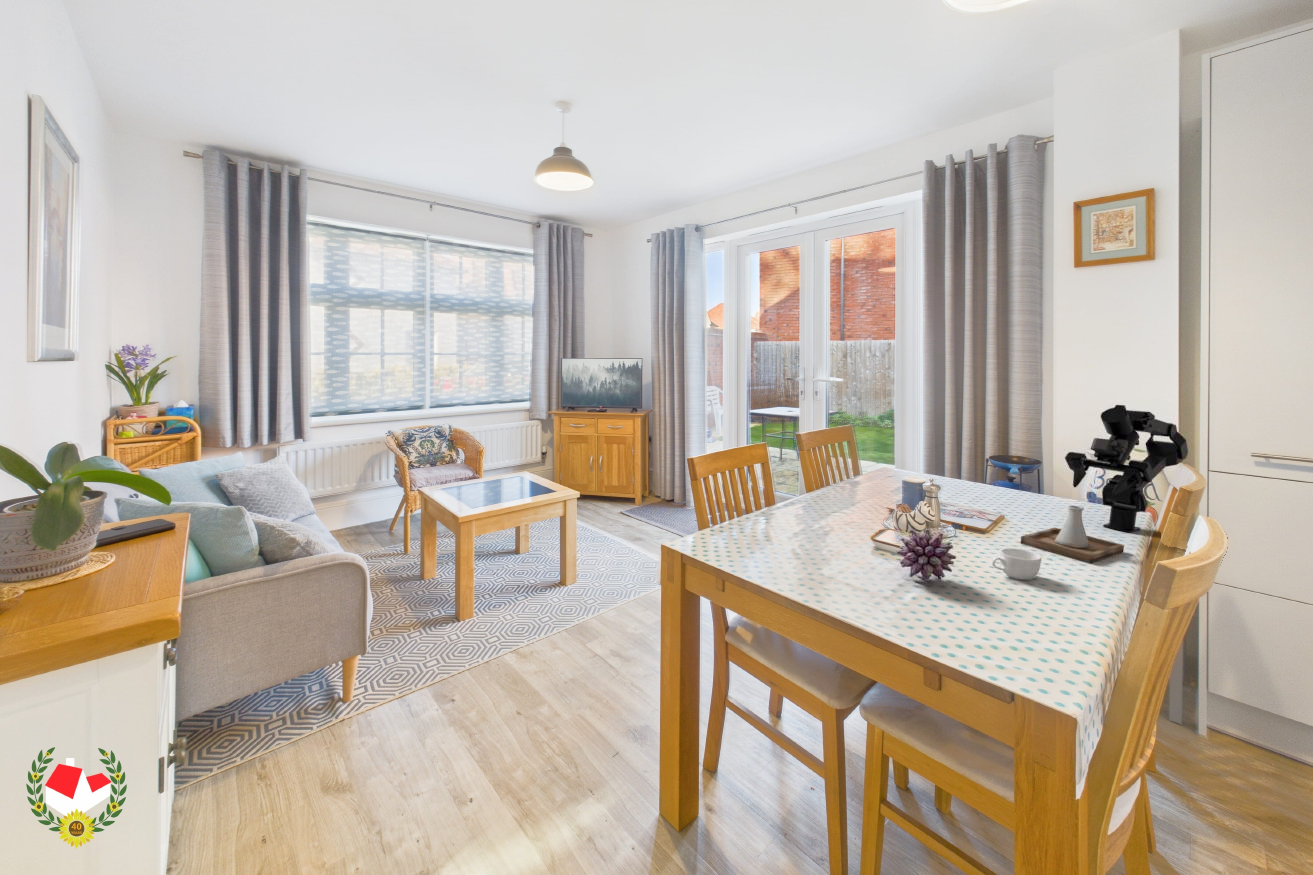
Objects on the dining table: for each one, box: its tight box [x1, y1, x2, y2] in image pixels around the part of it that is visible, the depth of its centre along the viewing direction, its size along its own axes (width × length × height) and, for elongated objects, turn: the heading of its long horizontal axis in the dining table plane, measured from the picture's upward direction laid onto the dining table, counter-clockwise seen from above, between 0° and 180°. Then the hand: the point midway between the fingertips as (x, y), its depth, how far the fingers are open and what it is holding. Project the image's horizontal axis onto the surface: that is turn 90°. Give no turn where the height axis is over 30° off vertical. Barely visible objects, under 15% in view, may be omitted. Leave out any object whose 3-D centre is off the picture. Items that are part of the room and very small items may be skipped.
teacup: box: [991, 547, 1043, 581], centre depth 123 cm, size 10×8×5 cm
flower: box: [896, 527, 957, 582], centre depth 121 cm, size 12×12×12 cm
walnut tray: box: [1020, 527, 1125, 564], centre depth 141 cm, size 16×16×2 cm
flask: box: [1055, 504, 1090, 548], centre depth 140 cm, size 7×7×10 cm
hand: (1093, 490), depth 147 cm, fingers open, 9 cm apart
